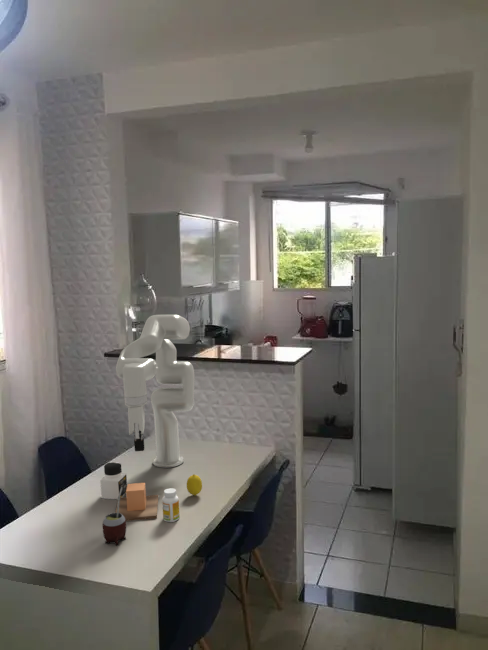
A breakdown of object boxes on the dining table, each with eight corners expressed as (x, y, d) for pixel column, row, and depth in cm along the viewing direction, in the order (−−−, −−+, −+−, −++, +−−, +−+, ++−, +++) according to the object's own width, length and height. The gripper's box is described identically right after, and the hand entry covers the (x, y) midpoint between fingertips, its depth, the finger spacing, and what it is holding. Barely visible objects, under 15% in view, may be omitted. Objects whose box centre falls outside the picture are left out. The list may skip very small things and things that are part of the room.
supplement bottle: (179, 513, 189) (177, 486, 188) (180, 521, 184) (178, 493, 183) (162, 515, 188) (161, 488, 187) (163, 523, 183) (161, 495, 182)
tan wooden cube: (128, 503, 196) (127, 483, 195) (146, 501, 197) (145, 482, 196) (127, 510, 190) (126, 491, 189) (145, 509, 191) (144, 489, 190)
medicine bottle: (119, 499, 201) (117, 467, 200) (101, 498, 203) (98, 466, 201) (127, 491, 208) (125, 460, 207) (109, 490, 210) (107, 459, 208)
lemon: (183, 496, 203) (182, 475, 202) (195, 491, 207) (194, 470, 206) (194, 500, 199) (193, 479, 198) (205, 495, 203) (204, 474, 202)
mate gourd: (106, 549, 168) (102, 501, 166) (101, 537, 176) (98, 491, 173) (130, 543, 171) (127, 496, 169) (125, 531, 178) (122, 486, 176)
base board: (118, 500, 201) (118, 497, 201) (158, 497, 202) (158, 494, 202) (113, 522, 185) (113, 519, 185) (156, 518, 187) (156, 515, 186)
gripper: (126, 393, 200) (130, 442, 203) (122, 407, 185) (126, 459, 188) (148, 392, 200) (151, 441, 204) (145, 405, 186) (149, 458, 189)
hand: (139, 450), depth 196 cm, fingers closed
